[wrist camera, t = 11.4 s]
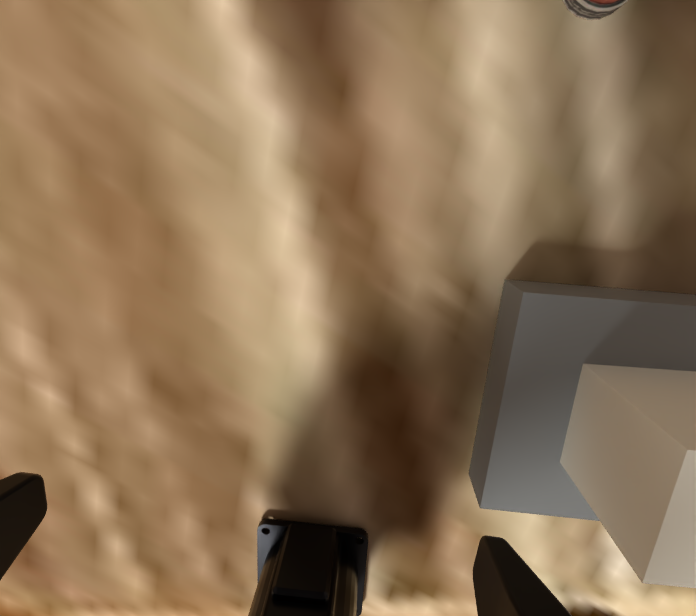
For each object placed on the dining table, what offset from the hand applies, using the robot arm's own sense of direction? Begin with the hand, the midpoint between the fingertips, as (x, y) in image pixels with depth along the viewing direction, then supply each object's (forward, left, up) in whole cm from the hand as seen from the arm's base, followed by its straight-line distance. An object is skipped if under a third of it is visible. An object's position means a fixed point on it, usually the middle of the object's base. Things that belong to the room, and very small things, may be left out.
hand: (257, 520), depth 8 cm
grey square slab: (-3, -14, -13) cm, 19 cm away
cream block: (-3, -14, -10) cm, 17 cm away
